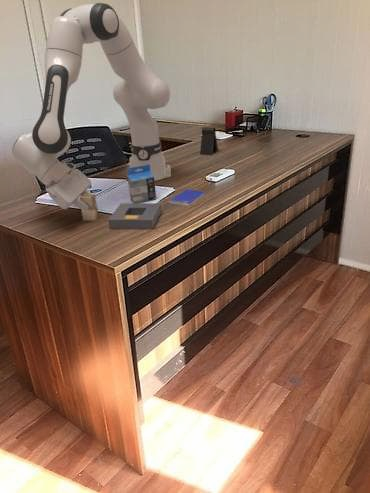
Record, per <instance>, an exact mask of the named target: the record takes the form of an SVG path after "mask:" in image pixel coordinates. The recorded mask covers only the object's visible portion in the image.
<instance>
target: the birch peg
mask: <svg viewBox="0 0 370 493" xmlns="http://www.w3.org/2000/svg"><path fill="white" fill-rule="evenodd" d="M79 199H80V201H82V202H84V203H87V204H88V205H89V208H88V209H87V210H86V211H85V210H84V209H82V208H81V207H80V209H81V216H82V221H87V222H88V221H89V222H90V221H96V220H97V219H98V217H99V210H98V203H97V196H96V193H90V194H83V195H81V196H80V197H79Z"/></svg>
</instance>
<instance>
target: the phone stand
mask: <svg viewBox="0 0 370 493" xmlns="http://www.w3.org/2000/svg"><path fill="white" fill-rule="evenodd" d="M216 130H217V129H216V128H215V127H205V126H204V127H202V128H201V139H200V140H201V142H200V152H199V155H203V156H204V155H205V156H213V155H214V154H215V153H217V152H218V151H219V146H218V142H217V141H218V140H217V134H216V132H217V131H216Z"/></svg>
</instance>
